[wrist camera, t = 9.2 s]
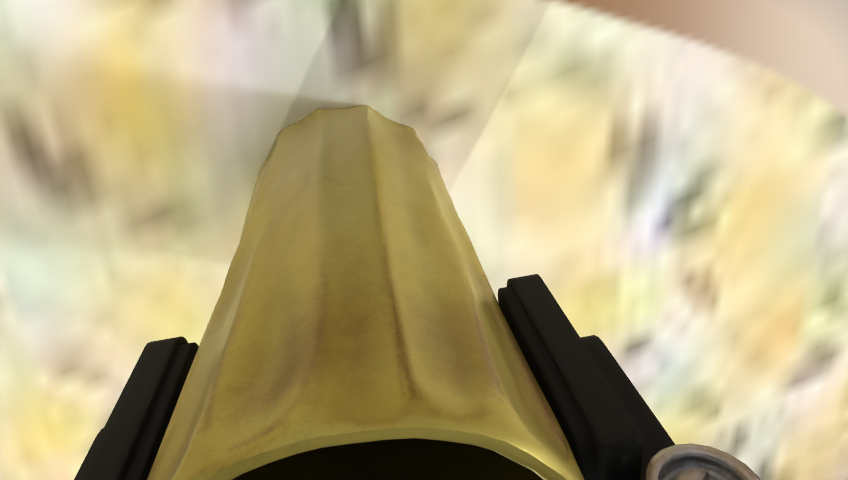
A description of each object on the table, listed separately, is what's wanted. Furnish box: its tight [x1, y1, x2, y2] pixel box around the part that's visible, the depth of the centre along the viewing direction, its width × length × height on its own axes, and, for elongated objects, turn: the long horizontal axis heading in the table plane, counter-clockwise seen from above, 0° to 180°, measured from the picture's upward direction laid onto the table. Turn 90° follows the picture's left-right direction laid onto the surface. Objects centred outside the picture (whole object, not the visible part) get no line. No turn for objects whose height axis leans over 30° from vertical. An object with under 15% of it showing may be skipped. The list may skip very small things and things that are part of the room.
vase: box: [147, 105, 584, 480], centre depth 12 cm, size 6×6×14 cm
